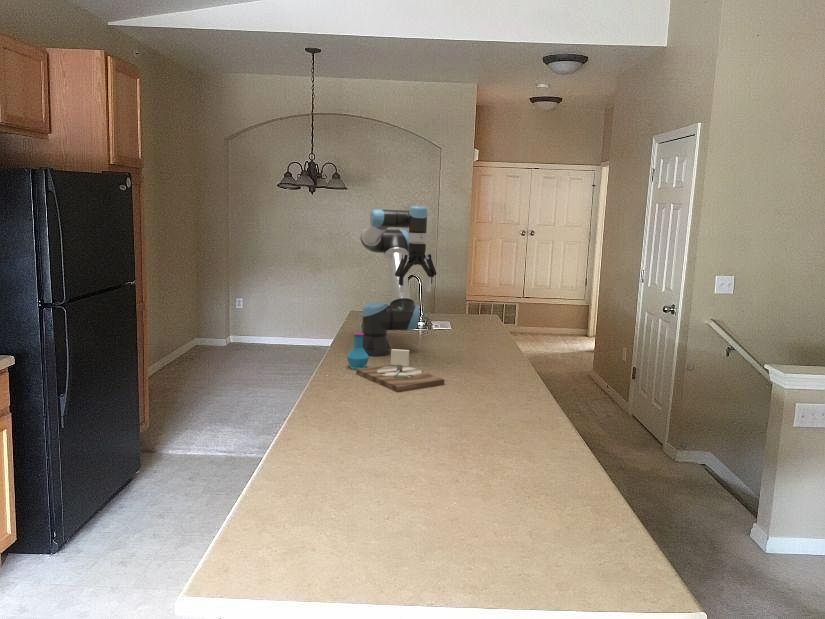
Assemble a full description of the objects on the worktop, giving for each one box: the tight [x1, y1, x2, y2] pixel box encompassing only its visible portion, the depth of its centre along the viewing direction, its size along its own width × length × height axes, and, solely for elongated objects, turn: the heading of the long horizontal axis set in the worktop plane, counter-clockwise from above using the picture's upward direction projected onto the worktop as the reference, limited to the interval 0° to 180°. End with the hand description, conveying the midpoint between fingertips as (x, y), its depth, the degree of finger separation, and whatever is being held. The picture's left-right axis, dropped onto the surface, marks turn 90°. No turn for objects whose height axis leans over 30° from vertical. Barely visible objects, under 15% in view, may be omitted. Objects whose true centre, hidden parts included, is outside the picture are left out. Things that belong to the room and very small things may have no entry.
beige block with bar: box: [390, 348, 410, 376], centre depth 261 cm, size 7×11×9 cm, turn 170°
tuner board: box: [355, 364, 446, 393], centre depth 262 cm, size 30×22×2 cm
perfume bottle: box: [346, 331, 370, 370], centre depth 278 cm, size 9×9×15 cm
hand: (415, 292), depth 285 cm, fingers open, 13 cm apart
